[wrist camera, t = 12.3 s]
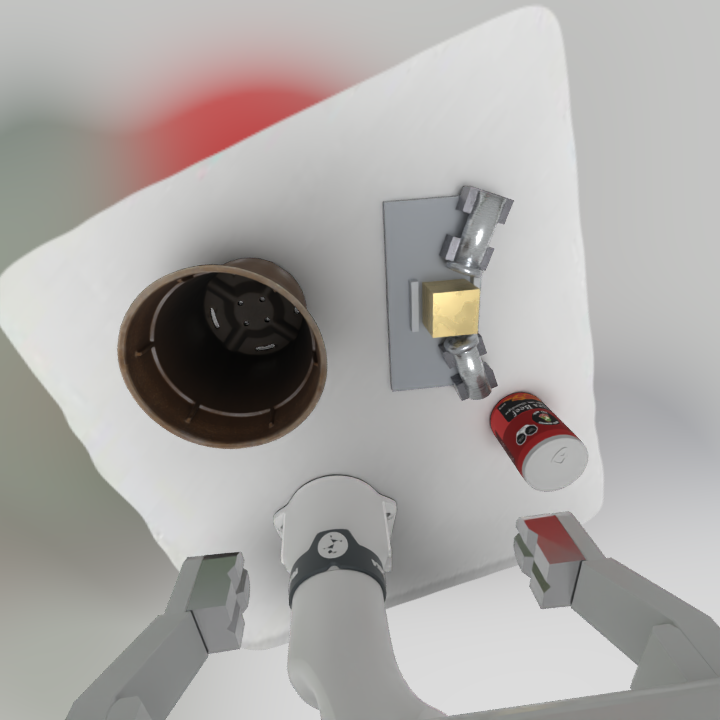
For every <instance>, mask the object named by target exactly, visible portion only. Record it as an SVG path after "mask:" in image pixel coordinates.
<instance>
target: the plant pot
mask: <svg viewBox="0 0 720 720" xmlns="http://www.w3.org/2000/svg"><path fill="white" fill-rule="evenodd" d="M260 297H264V298H265V301H264V302H260V300H259V299H260ZM238 301H243V305H242V306H239V305H238ZM294 306H295V307H296V308H297V309H298V310H299V313H298V314H296V313H294V309H295V308H294ZM210 308H213V310H214V312H215V315H216V318H217V321H218V323H219V325H220V327H219V328H216V327H215V326H214V324H213V321H212V318H211V314H210ZM267 317H268V318H269V319H270V321H269V322H268V323H266V322H265V321H264V320H265V318H267ZM245 321H248V322H249V325H248V326H244V322H245ZM270 344H275V347H274V348H272V349H268V350H261V351H257V350H255V348H256V347H261V346H267V345H270ZM117 352H118V362H119V367H120V371H121V374H122V377H123V379H124V382H125V384H126V386H127V388H128V390H129V391H130V393H131V395H132V396H133V398H134V399H135V401H136V402H137V404H138V405H139V406H140V407H141V408H142V409H143V411H144V412H145V413H146V414H147V415H148V416H149V417H150V418H152V419H153V420H154V421H155V422H156V423H158V424H159V425H160V426H162V427H163V428H165V429H166V430H167V431H169V432H171V433H172V434H174V435H176V436H178V437H180V438H182V439H185V440H187V441H190V442H192V443H196V444H199V445H203V446H207V447H213V448H221V449H239V448H247V447H253V446H258V445H262V444H266V443H269V442H272V441H274V440H276V439H279V438H281V437H283V436H284V435H286V434H288V433H289V432H291V431H292V430H294V429H295V428H296V427H298V426H299V425H300V424H301V423H302V422H303V421H304V420H305V419H306V418H307V417H308V416H309V415H310V413H311V412H312V411H313V409H314V408H315V406H316V404H317V403H318V401H319V399H320V397H321V394H322V392H323V389H324V386H325V381H326V375H327V356H326V350H325V345H324V341H323V338H322V335H321V333H320V330H319V328H318V326H317V324H316V322H315V321H314V319H313V317H312V316H311V314H310V313H309V312H308V310H307V307H306V301H305V298H304V295H303V292H302V290H301V288H300V286H299V284H298V283H297V282H296V280H295V279H294V278H293V277H292V276H291V275H290V274H289V273H288V272H286V271H285V270H284V269H282V268H281V267H279V266H277V265H276V264H274V263H272V262H270V261H267V260H263V259H258V258H242V259H237V260H233V261H230V262H228V263H225V264H223V265H199V266H193V267H189V268H185V269H182V270H178V271H176V272H173V273H171V274H168V275H166V276H164V277H162V278H160V279H158V280H156V281H155V282H153V283H152V284H150V285H149V286H148V287H147V288H145V289H144V290H143V291H142V292H141V293H140V294H139V295H138V296H137V298H136V299H135V300H134V301H133V303H132V304H131V306H130V307H129V309H128V311H127V312H126V314H125V316H124V319H123V321H122V324H121V327H120V332H119V337H118V348H117Z"/></svg>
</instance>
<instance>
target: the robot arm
mask: <svg viewBox="0 0 720 720" xmlns="http://www.w3.org/2000/svg"><path fill="white" fill-rule="evenodd" d="M396 510H397V508H396V502H395V501H394V500H392V499H390V498H388V497H385V496H382V495H380V494H379V493H377V492H376V491H375V490H374V489H373V488H372V487H371V486H370V485H368V484H367V483H365V482H363V481H361V480H359V479H356V478H353V477H348V476H327V477H322V478H319V479H316V480H313V481H311V482H309V483H307V484H306V485H304V486H303V487H301V488H300V489H299V490H298V491H297V492H296V493H295V494H294V496H293V497H292V499H291V500H290V502H289V503H288V505H287V506H286V507H284V508H282V509H281V510H279V511H278V512H277V513H276V514H275V515H274V517H273V524H274V526H275V528H276V530H277V532H278V534H279V536H280V538H281V540H282V548H281V563H282V564H284V566H285V568H286V570H287V571H288V573H289V574H290V581H289V589H288V592H289V606H290V608H291V623H290V636H289V650H288V662H287V670H288V676H289V679H290V682H291V684H292V686H293V688H294V689H295V691H296V692H297V694H298V695H299V696H300V697H301V698H302V699H303V700H304V701H305V702H306V703H307V704H309V705H310V706H312V707H314V708H316V709H318V710H320V716H321V720H720V627H719V626H718V625H717V624H716V623H715V622H714V621H713V619H712V618H711V617H709V616H708V615H706V614H704V613H703V612H701V611H700V610H698V609H696V608H695V607H693V606H691V605H690V604H688V603H686V602H685V601H683V600H681V599H680V598H678V597H676V596H674V595H673V594H671V593H670V592H668V591H666V590H665V589H663V588H661V587H660V586H658V585H656V584H654V583H652V582H651V581H649V580H648V579H646V578H644V577H643V576H641V575H639V574H638V573H636V572H634V571H633V570H631V569H629V568H628V567H626V566H624V565H623V564H621V563H619V562H618V561H616V560H614V559H612V558H606V557H605V556H604V555H603V554H602V552H601V551H600V549H599V548H598V547H597V545H596V544H595V543H594V541H593V540H592V539H591V537H590V536H589V535H588V533H587V532H586V531H585V530H584V528H583V527H582V526H581V524H580V523H579V522H578V520H577V519H576V518H575V516H574V515H573V514H572V513H571V512H569V511H567V512H559V513H552V514H550V513H549V514H541V515H534V516H527V517H519V518H518V520H517V522H516V528H517V530H518V532H519V533H518V534H517V536H516V537H515V538H514V551H515V556H516V559H517V562H518V565H519V567H520V568H521V571H522V572H523V573H524V574H526V575H527V576H529V577H530V578H531V579H530V588H531V590H532V592H533V594H534V596H535V598H536V600H537V602H538V604H539V606H540V608H541V609H546V608H556V607H565V606H571V608H572V609H573V610H574V611H575V612H577V613H578V614H579V615H580V616H582V618H584V619H585V620H586V621H587V622H588V623H589V624H591V625H592V626H593V627H594V628H595V629H596V630H598V631H599V632H600V633H601V634H602V635H603V636H604V637H606V638H607V639H608V640H609V641H610V642H611V643H612V644H614V645H615V646H616V647H617V648H618V649H619V650H621V651H622V652H623V653H624V654H625V655H627V656H628V657H629V658H630V659H631V660H632V661H633V662H635V663H636V664H637V665H638V667H637V670H636V673H635V675H634V678H633V680H632V683H631V687H630V688H631V690H628V691H621V692H614V693H607V694H600V695H593V696H586V697H579V698H572V699H565V700H558V701H552V702H544V703H537V704H530V705H523V706H516V707H509V708H502V709H495V710H488V711H481V712H474V713H467V714H460V715H452V716H448V715H446V714H445V713H443V712H442V711H440V710H438V709H436V708H434V707H432V706H430V705H428V704H426V703H425V702H423V701H422V700H421V699H419V698H418V697H417V696H416V694H415V693H414V692H413V691H412V690H411V689H410V687H409V686H408V684H407V683H406V681H405V680H404V678H403V676H402V674H401V672H400V670H399V667H398V665H397V662H396V659H395V656H394V652H393V647H392V643H391V638H390V633H389V627H388V622H387V616H386V610H385V603H384V602H385V599H386V578H385V574H384V572H390V571H391V570H392V559H391V558H392V549H391V545H390V539H391V534H392V529H393V525H394V520H395V515H396ZM243 565H244V557H243V554H242V552H235V553H224V554H214V555H204V556H195V557H187V559H186V560H185V561H184V563H183V565H182V568H181V570H180V573H179V576H178V579H177V581H176V584H175V586H174V589H173V592H172V594H171V597H170V600H169V603H168V605H167V608H166V610H165V613H164V614H163V615H158V616H157V617H156V618H155V620H154V621H153V622H152V623H150V625H149V626H148V627H147V628H146V629H145V630H144V631H143V632H142V633H141V634H140V635H139V636H138V637H137V638H136V639H135V640H134V641H133V642H132V643H131V644H130V645H129V646H128V647H127V648H126V649H125V650H124V651H123V652H122V654H120V655H119V656H118V657H117V658H116V659H115V660H114V662H113V663H112V664H111V665H110V666H109V667H108V668H107V669H106V670H105V671H104V672H103V673H102V674H101V675H100V676H99V677H98V678H97V679H96V680H95V681H94V682H93V683H92V684H91V685H90V686H89V687H88V688H87V689H86V690H85V691H84V692H83V693H82V694H81V695H80V696H79V697H78V699H77V700H76V701H75V702H74V703H73V705H72V707H71V709H70V711H69V713H68V715H67V717H66V719H65V720H165V719H166V718H167V716H168V715H169V713H170V712H171V710H172V709H173V707H174V706H175V705H176V703H177V702H178V700H179V699H180V697H181V696H182V694H183V693H184V691H185V690H186V688H187V687H188V685H189V684H190V683H191V681H192V680H193V678H194V677H195V675H196V674H197V672H198V671H199V669H200V668H201V666H202V665H203V663H204V662H205V660H206V659H207V658H208V654H210V653H218V652H223V651H230V650H236V649H240V647H241V641H242V636H243V631H244V625H245V622H244V619H243V615H242V613H243V612H244V611H245V610H246V608H247V607H248V603H249V597H250V580H249V574H248V571H247V570H246V569H244V568H243Z"/></svg>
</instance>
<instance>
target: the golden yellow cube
mask: <svg viewBox="0 0 720 720" xmlns="http://www.w3.org/2000/svg"><path fill="white" fill-rule="evenodd" d="M479 300H480V289H479V288H478V287H476V286H475V285H473V284H472V283H470V282H469V281H468V280H466V279H454V280H443V281H432V282H422V323H423V325H424V326H425V327H426V329H427V330H428V332H429V333H430V335H431V336H432V338H438V337H448V336H458V335H469V334H477V333H478V316H479Z"/></svg>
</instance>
